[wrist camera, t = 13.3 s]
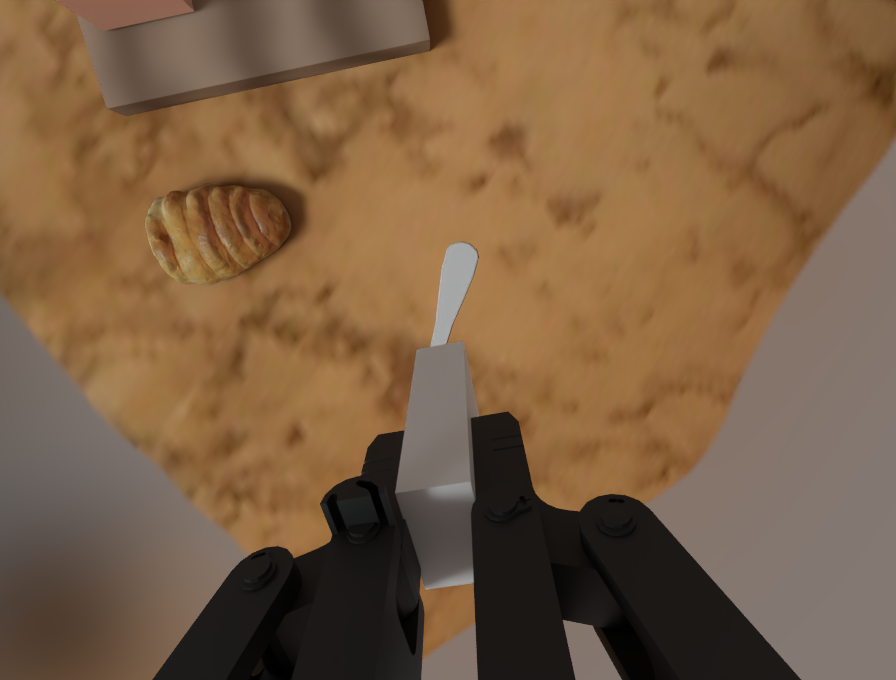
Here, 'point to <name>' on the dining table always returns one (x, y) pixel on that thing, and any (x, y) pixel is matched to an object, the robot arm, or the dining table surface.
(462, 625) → the dining table surface
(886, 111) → the dining table surface
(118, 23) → the pink upright block
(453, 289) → the butter knife
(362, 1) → the taupe stand
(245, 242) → the pastry
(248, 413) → the dining table surface
